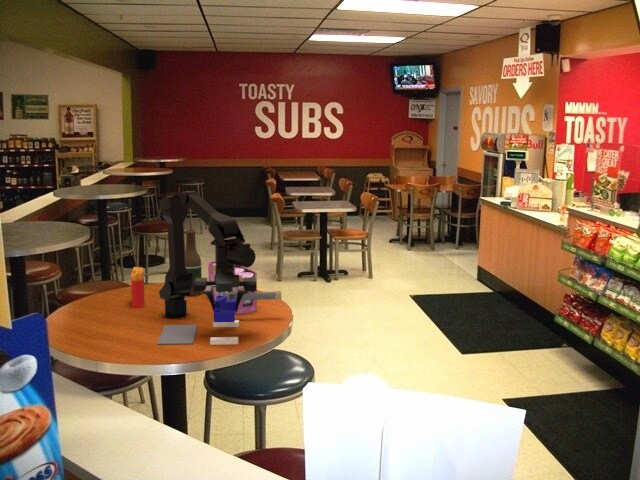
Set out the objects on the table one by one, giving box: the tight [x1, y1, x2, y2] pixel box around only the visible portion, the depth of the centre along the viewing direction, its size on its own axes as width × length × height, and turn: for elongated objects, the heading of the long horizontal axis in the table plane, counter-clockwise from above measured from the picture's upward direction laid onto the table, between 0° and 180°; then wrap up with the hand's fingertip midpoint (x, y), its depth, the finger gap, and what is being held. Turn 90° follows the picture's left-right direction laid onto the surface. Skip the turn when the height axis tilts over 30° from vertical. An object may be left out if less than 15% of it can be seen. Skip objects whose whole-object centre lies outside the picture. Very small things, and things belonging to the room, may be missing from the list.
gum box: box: [207, 261, 258, 315], centre depth 211 cm, size 24×8×14 cm, turn 35°
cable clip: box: [213, 296, 236, 322], centre depth 182 cm, size 12×4×6 cm
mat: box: [156, 324, 198, 346], centre depth 182 cm, size 10×16×1 cm, turn 7°
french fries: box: [130, 266, 145, 308], centre depth 209 cm, size 9×4×13 cm, turn 19°
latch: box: [223, 290, 282, 301], centre depth 197 cm, size 3×19×9 cm, turn 99°
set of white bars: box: [209, 319, 240, 346], centre depth 187 cm, size 8×24×2 cm, turn 7°
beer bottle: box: [185, 229, 202, 297], centre depth 223 cm, size 8×8×24 cm
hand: (225, 311), depth 182 cm, fingers closed on cable clip, 6 cm apart
